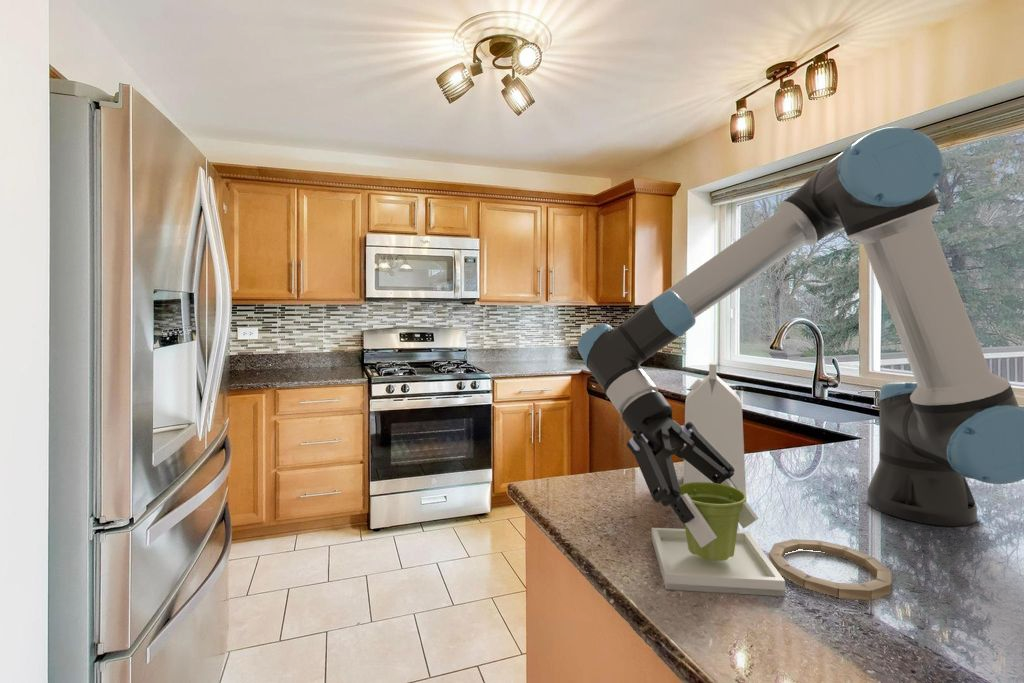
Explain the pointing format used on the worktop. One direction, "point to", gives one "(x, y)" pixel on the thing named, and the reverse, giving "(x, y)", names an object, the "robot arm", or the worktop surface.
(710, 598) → the worktop surface
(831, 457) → the worktop surface
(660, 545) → the grey tray
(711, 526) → the plant pot
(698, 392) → the milk
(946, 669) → the worktop surface
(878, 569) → the oak ring
